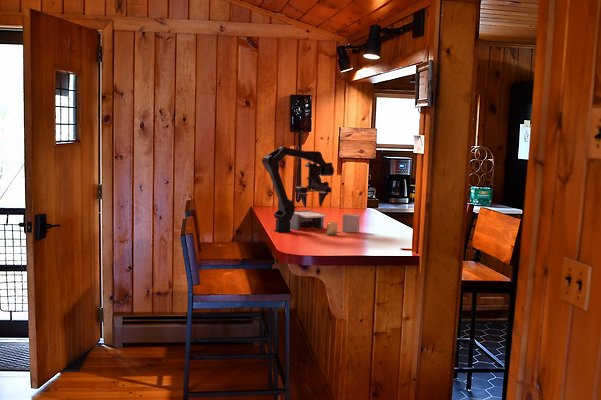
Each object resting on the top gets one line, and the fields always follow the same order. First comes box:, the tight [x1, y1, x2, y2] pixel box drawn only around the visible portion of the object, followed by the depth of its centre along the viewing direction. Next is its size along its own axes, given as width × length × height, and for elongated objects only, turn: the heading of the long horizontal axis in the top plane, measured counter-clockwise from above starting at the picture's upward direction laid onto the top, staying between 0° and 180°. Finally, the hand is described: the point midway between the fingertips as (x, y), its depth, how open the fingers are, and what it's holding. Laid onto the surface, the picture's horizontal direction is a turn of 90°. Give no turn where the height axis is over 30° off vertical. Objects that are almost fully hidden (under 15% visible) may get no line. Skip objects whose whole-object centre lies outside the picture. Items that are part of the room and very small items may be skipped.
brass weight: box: [326, 221, 339, 237], centre depth 323 cm, size 5×5×6 cm
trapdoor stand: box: [290, 209, 325, 231], centre depth 344 cm, size 16×15×8 cm
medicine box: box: [341, 213, 360, 234], centre depth 335 cm, size 8×4×9 cm, turn 74°
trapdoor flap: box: [294, 211, 328, 222], centre depth 340 cm, size 12×18×5 cm
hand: (312, 206), depth 336 cm, fingers open, 9 cm apart
